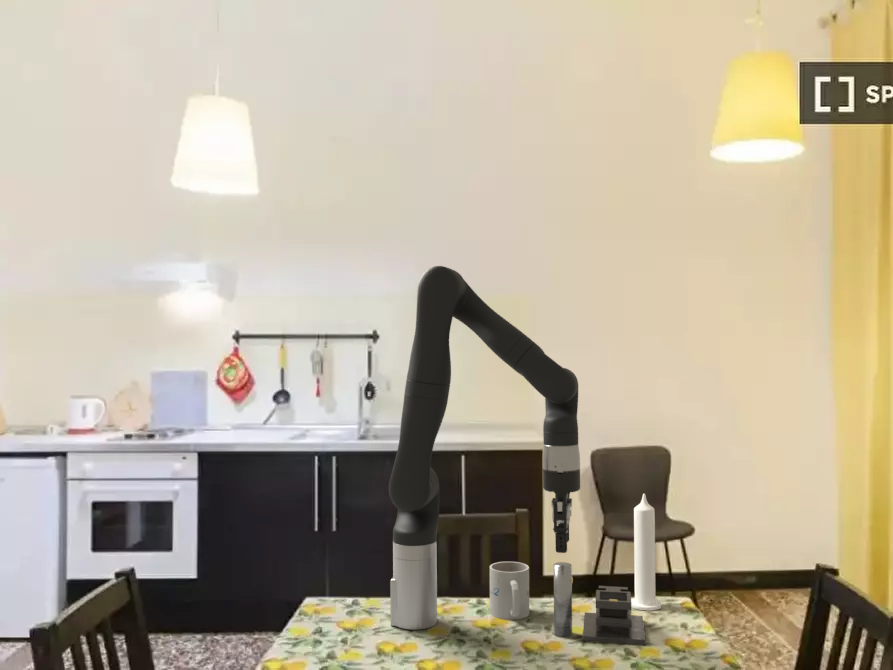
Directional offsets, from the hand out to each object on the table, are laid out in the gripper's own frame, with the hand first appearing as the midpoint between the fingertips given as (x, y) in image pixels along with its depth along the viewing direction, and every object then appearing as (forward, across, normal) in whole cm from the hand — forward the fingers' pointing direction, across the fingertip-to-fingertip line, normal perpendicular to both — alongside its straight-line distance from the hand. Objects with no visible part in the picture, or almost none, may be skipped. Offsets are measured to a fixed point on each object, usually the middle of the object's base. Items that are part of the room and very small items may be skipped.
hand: (562, 546), depth 161 cm
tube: (+18, 0, 0) cm, 18 cm away
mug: (+18, -9, -12) cm, 23 cm away
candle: (+18, -21, +17) cm, 32 cm away
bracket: (+18, -4, +10) cm, 21 cm away
